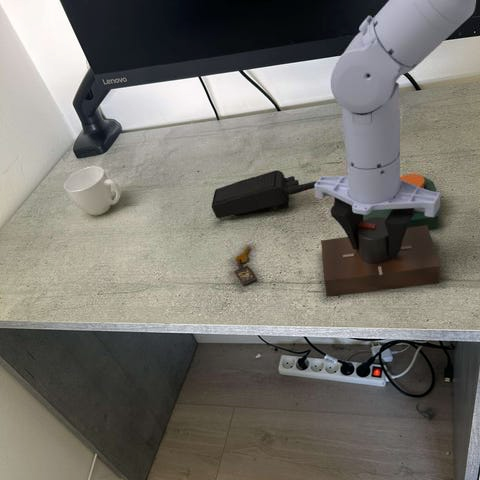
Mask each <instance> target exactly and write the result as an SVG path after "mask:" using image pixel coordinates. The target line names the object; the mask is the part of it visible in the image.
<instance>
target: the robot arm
mask: <svg viewBox="0 0 480 480" xmlns="http://www.w3.org/2000/svg"><path fill="white" fill-rule="evenodd" d="M476 5H477V0H388V1H387V2H386V3H385V5H384V6H383V7H382V8H381V9H380V10H379V11H378V12H377V14H376V15H374V16H373V17H372V16H371V15H367V17H366V18H365V19H364V20H363V22H362V23H361V24H360V26H359V28H358V30H359V32H358V33H357V34H356V35H355V36H354V37H353V39H352V40H351V42H350V43H349V44H348V46H347V47H346V49H345V50H344V52H343V53H342V54H341V55H340V57H339V58H338V60H337V62H336V64H335V66H334V68H333V70H332V72H331V76H330V90H331V93H332V95H333V97H334V99H335V101H336V102H337V103H338V104H339V106H341V114H342V129H343V130H342V131H343V132H342V133H343V141H344V144H343V145H344V154H345V165H346V175H338V176H324V175H321V176H320V177H319V178H318V180H316V181H317V182H316V181H315V182H316V184H315V185H314V187H315V188H314V193H315V198H316V199H320V200H323V199H325V198H326V197H330V198H334V199H333V205H332V206H331V208H330V215H331V217H332V218H333V219H334V220H335V221H336V222H337V223H338V224H339V225H340V226H341V228H342V230H343V231H344V232H345V234H346V237H348V238H349V240H350V243H351V245H352V247H353V249H354V250H358V249H359V243H358V226H359V225H358V224H359V223H360V222H363V215H367V214H369V213H370V212H371V211H372V210H385V209H393V210H392V211H391V212H390V214H389V215H388V217H387V219H386V220H385V226H386V228H387V232H388V236H389V256H390V257H391V258H396V256H397V255H398V253H399V251H400V250H401V246H402V241H403V238H404V235H405V232H406V229H407V227H408V225H409V223H410V221H411V219H412V217H413V216H414V214H415V212H416V211H421V212H425V216H428V217H434V216H435V214H436V213H437V212H438V211H439V209H440V207H441V195H442V193H441V192H438V191H436V192H433V191H429V190H426V189H423V188H421V187H418V186H416V185H413V184H411V183H408V182H406V181H404V180H401V179H400V177H401V109H400V84H399V82H397V81H398V79H400V77H401V76H403V75H405V74H407V73H410V72H411V71H413V70H414V69H415V68H416V67H417V66H419V65H420V64H421V63H422V62H423V61H424V60H425V59H426V58H428V57H429V56H430V55H431V54H432V53H433V52H434V51H435V50H436V49H437V48H438V47H439V46H441V44H442V43H444V41H446V39H448V38H449V37H450V36H451V35H453V33H454V32H455V31H456V30H457V29H459V28H460V27H461V26H462V24H464V23H465V22H466V21H467V20H468V19H469V18H471V16H473V14H474V13H475V10H476Z"/></svg>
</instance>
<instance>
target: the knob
mask: <svg viewBox="0 0 480 480" xmlns="http://www.w3.org/2000/svg"><path fill="white" fill-rule="evenodd" d="M386 219H387V218H384V217H372V218H368V219H366V220H364V221H363V222H360V223H359V224H358V225H359V226H358V243H359V255H360V257H361V258H362V259H363V260H364V261H366V262H369V263H382V262H385V261H387V260H389V259H390V258H391V257H390V256H389V236H388V232H387V228H386V226H385V220H386Z"/></svg>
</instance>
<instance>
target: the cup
mask: <svg viewBox="0 0 480 480" xmlns="http://www.w3.org/2000/svg"><path fill="white" fill-rule="evenodd" d="M63 188H64V190H65V192H66V194H67V195H68V197H69V199H70V200H71V201H72V203H73V204H74V205H75V206H76V207H77V208H79V209H80V210H81V211H83V212H85V213H87V214H89V215H90V216H95V217H97V216H100V215H103V214H105V213H106V212H108V211H109V210H110V208H111V206H113V205H116V204H117V203H118V201H119V200H120V199H121V195H122V189H121V186H120V185H119V184H118V183H117V182H116V181H115V180H113V179H109V178H108V175H107V173H106V172H105V170H104V168H102V167H100V166H88V167H84V168H81V169H79V170H77V171H75V172H74V173H72V174H71V175H69V176H68V178H66V180H65V181H64V184H63ZM112 188H113V190H114V191H115V197H114V199H113V197H112Z"/></svg>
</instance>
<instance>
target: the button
mask: <svg viewBox="0 0 480 480" xmlns="http://www.w3.org/2000/svg"><path fill="white" fill-rule="evenodd" d="M423 177H424V176H423V175H420V174H417V173H407V174H404V175H402V176H400V179H401V180H404V181H406V182H408V183H411V184H413V185H416V186H418V187H421V188H423V189H424V183H425V180H424V178H423Z"/></svg>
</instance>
